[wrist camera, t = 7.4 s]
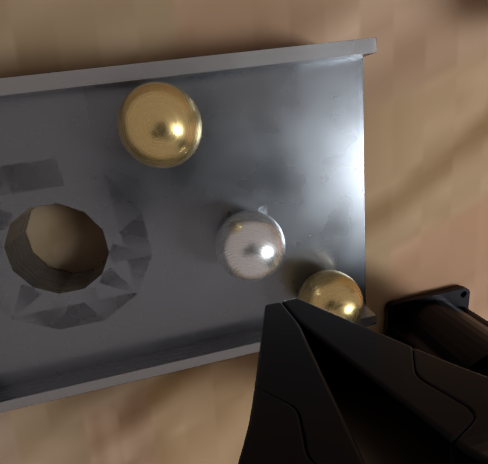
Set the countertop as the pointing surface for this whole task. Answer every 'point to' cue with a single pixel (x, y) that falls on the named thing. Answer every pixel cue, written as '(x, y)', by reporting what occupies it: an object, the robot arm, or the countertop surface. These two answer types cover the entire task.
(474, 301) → the countertop surface
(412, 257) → the countertop surface
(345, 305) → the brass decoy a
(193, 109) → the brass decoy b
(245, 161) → the tray
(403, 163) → the countertop surface
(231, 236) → the steel ball
